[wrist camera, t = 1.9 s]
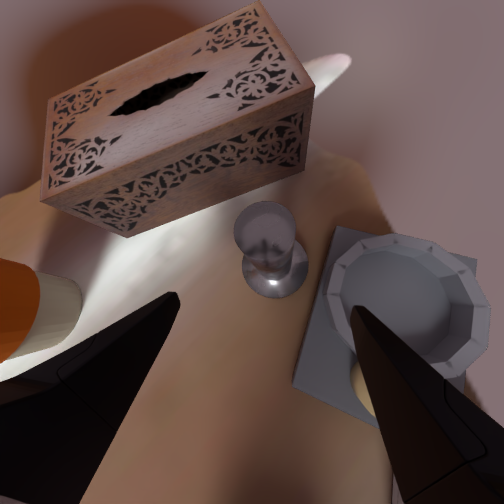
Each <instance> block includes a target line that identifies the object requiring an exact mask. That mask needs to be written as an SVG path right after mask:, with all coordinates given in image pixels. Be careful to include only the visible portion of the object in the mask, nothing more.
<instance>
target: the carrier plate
mask: <svg viewBox="0 0 504 504" xmlns="http://www.w3.org/2000/svg"><path fill="white" fill-rule="evenodd" d="M476 267H477V259H474V258H470V257H466V256H461V255H458V254H453V253H449V252H447V251H445V250H444V249H443V248H441V247H440V246H439V245H437V244H436V243H433V242H431V241H427V240H423V239H419V238H414V237H410V236H406V235H401V234H397V233H395V234H394V233H392V234H387V235H382V236H379V235H375V234H370V233H366V232H362V231H358V230H354V229H350V228H346V227H341V226H337V227H336V228H335V230H334V232H333V235H332V239H331V242H330V246H329V249H328V253H327V257H326V260H325V264H324V267H323V271H322V274H321V278H320V281H319V285H318V288H317V292H316V296H315V299H314V303H313V306H312V310H311V313H310V317H309V320H308V324H307V327H306V331H305V334H304V338H303V342H302V345H301V349H300V352H299V356H298V359H297V363H296V366H295V370H294V373H293V377H292V387H294V388H296V389H298V390H300V391H302V392H304V393H306V394H308V395H310V396H312V397H314V398H316V399H318V400H321V401H323V402H325V403H327V404H329V405H331V406H333V407H335V408H337V409H339V410H341V411H343V412H345V413H347V414H349V415H351V416H354V417H356V418H358V419H360V420H362V421H364V422H366V423H368V424H370V425H372V426H374V427H376V428H378V429H380V428H379V425H378V422H377V419H376V416H375V412H374V409H373V406H372V403H371V400H370V397H369V393H368V390H367V387H366V384H365V381H364V378H363V374H362V371H361V368H360V365H359V362H358V358H357V355H356V350H355V345H354V340H353V335H352V330H351V325H350V315H351V312H352V308H353V306H354V305H362V306H365V307H366V308H367V309H368V310H369V311H370V312H371V313H373V314H374V315H375V316H376V317H377V318H378V319H379V320H380V321H382V322H383V323H384V324H385V325H386V326H387V327H388V328H389V329H391V330H392V331H393V332H394V333H395V334H396V335H397V336H398V337H400V338H401V339H402V340H403V341H404V342H405V343H406V344H407V345H408V346H410V347H411V348H412V349H413V350H414V351H415V352H416V353H417V354H419V355H420V356H421V357H422V358H423V359H424V360H425V361H426V362H428V363H429V364H430V365H431V366H432V367H433V368H434V369H435V370H437V371H438V372H439V373H440V374H441V375H442V376H443V377H444V379H447V380H448V381H449V382H450V383H451V384H452V385H454V386H455V387H456V388H457V389H458V390H459V391H460V392H461V393H463V394H464V384H465V375H466V369H467V368H468V367H469V366H470V365H471V364H472V363H473V362H474V361H475V360H476V359H477V358H478V357H479V356H480V355H481V354H482V353H483V352H484V351H485V350H487V348H486V347H488V339H489V326H490V314H491V308H490V304H489V302H488V301H487V299H486V297H485V295H484V293H483V291H482V290H481V288H480V286H479V284H478V282H477V280H476V278H475V277H476Z"/></svg>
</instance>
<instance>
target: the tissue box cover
mask: <svg viewBox="0 0 504 504" xmlns="http://www.w3.org/2000/svg"><path fill="white" fill-rule="evenodd" d="M314 92H315V84H314V83H313V81H312V80H311V78H310V77H309V75H308V74H307V72H306V70H305V69H304V67H303V66H302V64H301V63H300V61H299V60H298V58H297V57H296V55H295V54H294V52H293V51H292V49H291V48H290V46H289V44H288V43H287V41H286V40H285V38H284V37H283V35H282V34H281V32H280V31H279V29H278V28H277V26H276V25H275V23H274V21H273V20H272V18H271V17H270V15H269V14H268V12H267V11H266V9H265V8H264V6H263V5H262V3H261V1H260V0H258V1H256V2H254V3H252V4H250V5H248V6H246V7H244V8H241V9H239V10H237V11H235V12H233V13H230V14H229V15H226V16H224V17H222V18H220V19H218V20H216V21H213V22H211V23H209V24H207V25H205V26H203V27H201V28H198V29H196V30H194V31H192V32H190V33H188V34H186V35H184V36H181V37H179V38H177V39H175V40H173V41H171V42H169V43H166V44H164V45H163V46H160V47H158V48H156V49H154V50H152V51H149V52H147V53H145V54H143V55H141V56H139V57H137V58H134V59H132V60H130V61H128V62H126V63H124V64H122V65H120V66H117V67H115V68H113V69H111V70H109V71H107V72H105V73H102V74H100V75H98V76H96V77H94V78H92V79H90V80H88V81H85V82H83V83H81V84H79V85H77V86H75V87H73V88H71V89H68V90H66V91H64V92H62V93H60V94H58V95H56V96H53V97H51V98H49V99H48V108H47V120H46V131H45V143H44V155H43V167H42V178H41V190H40V202H42V203H45V204H47V205H50V206H52V207H54V208H57V209H59V210H61V211H64V212H66V213H68V214H71V215H73V216H76V217H78V218H80V219H83V220H85V221H87V222H90V223H92V224H95V225H97V226H99V227H102V228H104V229H106V230H109V231H111V232H113V233H116V234H118V235H121V236H123V237H125V238H129V237H132V236H135V235H137V234H140V233H142V232H145V231H148V230H150V229H153V228H155V227H158V226H161V225H163V224H166V223H168V222H171V221H174V220H176V219H179V218H181V217H184V216H187V215H189V214H192V213H195V212H197V211H200V210H202V209H205V208H208V207H210V206H213V205H215V204H218V203H221V202H223V201H226V200H228V199H231V198H234V197H236V196H239V195H241V194H244V193H247V192H249V191H252V190H255V189H257V188H260V187H262V186H265V185H268V184H270V183H273V182H275V181H278V180H281V179H283V178H286V177H288V176H291V175H294V174H296V173H299V172H301V171H304V169H305V161H306V154H307V146H308V138H309V131H310V123H311V115H312V108H313V100H314Z"/></svg>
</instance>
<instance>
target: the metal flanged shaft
mask: <svg viewBox="0 0 504 504" xmlns="http://www.w3.org/2000/svg"><path fill="white" fill-rule="evenodd" d="M295 233H296V224H295V220H294V218H293V216H292V214H291V213H290V211H289V210H288V209H287V208H285V207H284V206H283V205H281V204H279V203H276V202H271V201H262V202H257V203H254V204H252V205H250V206H248V207H247V208H246V209H244V210H243V211H242V212H241V213H240V215H239V216H238V218H237V220H236V222H235V225H234V238H235V241H236V243H237V245H238V247H239V248H240V249H241V251H242V252H243V253H244V256H243V260H242V271H243V275H244V278H245V280H246V282H247V283H248V285H249V286H250V287H251V288H252V289H253V290H254V291H255V292H257V293H258V294H260V295H263V296H265V297H268V298H283V297H287V296H289V295H291V294H293V293H294V292H295V291H297V290H298V289H299V288H300V286H301V285H302V284H303V282H304V280H305V278H306V276H307V272H308V259H307V255H306V253H305V251H304V249H303V247H302V246H301V245H300V244H299V243H298V242H297V241H296V240H295Z"/></svg>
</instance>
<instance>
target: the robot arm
mask: <svg viewBox="0 0 504 504" xmlns="http://www.w3.org/2000/svg"><path fill="white" fill-rule="evenodd" d="M179 308H180V300H179V297H178V295H177V293H176V292H167V293H165V294H163V295H162V296H160V297H158V298H157V299H155V300H153V301H151V302H150V303H148V304H146V305H144V306H143V307H141V308H139V309H138V310H136V311H134V312H132V313H131V314H129V315H127V316H126V317H124V318H122V319H120V320H119V321H117V322H115V323H113V324H112V325H110V326H108V327H107V328H105V329H103V330H101V331H100V332H98V333H96V334H94V335H93V336H91V337H89V338H88V339H86V340H84V341H82V342H80V343H79V344H77V345H75V346H73V347H71V348H69V349H68V350H66V351H64V352H62V353H60V354H58V355H56V356H54V357H52V358H50V359H49V360H47V361H45V362H43V363H41V364H39V365H37V366H35V367H33V368H31V369H29V370H27V371H25V372H24V373H21V374H19V375H17V376H15V377H13V378H10V379H8V380H5V381H2V382H0V504H79V503H80V501H81V499H82V497H83V495H84V493H85V491H86V490H87V488H88V486H89V484H90V482H91V480H92V478H93V476H94V474H95V473H96V471H97V469H98V467H99V465H100V463H101V461H102V459H103V457H104V456H105V454H106V452H107V450H108V448H109V446H110V444H111V442H112V441H113V439H114V437H115V435H116V433H117V432H116V431H118V429H119V427H120V425H121V423H122V421H123V420H124V418H125V416H126V414H127V412H128V410H129V408H130V406H131V404H132V403H133V401H134V399H135V397H136V395H137V393H138V391H139V389H140V387H141V386H142V384H143V382H144V380H145V378H146V376H147V374H148V372H149V370H150V369H151V367H152V365H153V363H154V361H155V359H156V357H157V355H158V353H159V352H160V350H161V348H162V346H163V344H164V342H165V340H166V338H167V336H168V334H169V332H170V330H171V328H172V325H173V323H174V321H175V318H176V316H177V313H178V311H179ZM350 325H351V330H352V335H353V340H354V345H355V350H356V355H357V358H358V362H359V365H360V368H361V371H362V374H363V378H364V381H365V384H366V387H367V390H368V393H369V397H370V400H371V403H372V406H373V409H374V412H375V416H376V419H377V422H378V425H379V428H380V431H381V435H382V438H383V441H384V444H385V447H386V450H387V454H388V457H389V460H390V463H391V466H392V469H393V473H394V476H395V479H396V482H397V485H398V488H399V492H400V495H401V498H402V501H403V503H404V504H504V428H503V427H502V426H501V425H499V424H498V423H497V422H496V421H495V420H493V419H492V418H491V417H490V416H489V415H487V414H486V413H485V412H484V411H482V410H481V409H480V408H479V407H478V406H476V405H475V404H474V403H473V402H472V401H471V400H470V399H468V398H467V397H466V396H465V395H464V394H463V393H461V392H460V391H459V390H458V389H457V388H456V387H455V386H454V385H452V384H451V383H450V382H449V381H448V380H447V379H444V377H443V376H442V375H441V374H440V373H439V372H438V371H437V370H435V369H434V368H433V367H432V366H431V365H430V364H429V363H428V362H426V361H425V360H424V359H423V358H422V357H421V356H420V355H419V354H417V353H416V352H415V351H414V350H413V349H412V348H411V347H410V346H408V345H407V344H406V343H405V342H404V341H403V340H402V339H401V338H400V337H398V336H397V335H396V334H395V333H394V332H393V331H392V330H391V329H389V328H388V327H387V326H386V325H385V324H384V323H383V322H382V321H380V320H379V319H378V318H377V317H376V316H375V315H374V314H373V313H371V312H370V311H369V310H368V309H367V308H366V307H365V306H362V305H354V306H353V308H352V312H351V315H350Z"/></svg>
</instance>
